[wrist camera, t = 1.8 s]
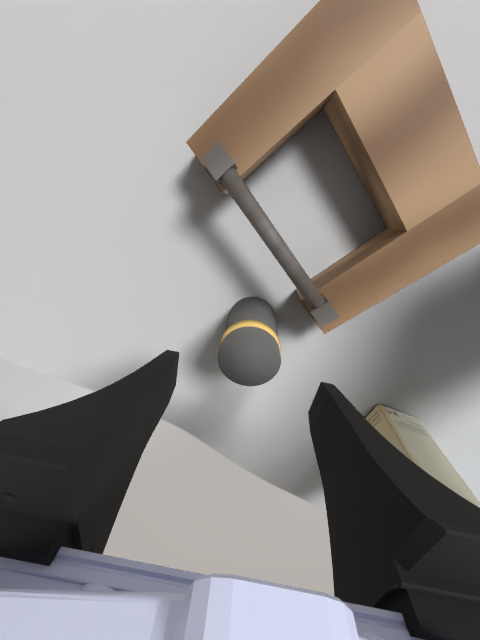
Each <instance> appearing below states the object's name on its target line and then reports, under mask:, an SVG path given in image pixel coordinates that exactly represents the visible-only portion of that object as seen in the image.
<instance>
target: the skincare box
mask: <svg viewBox="0 0 480 640" xmlns="http://www.w3.org/2000/svg"><path fill="white" fill-rule="evenodd" d="M365 419H366V420H367V421H368V422H369V423H370V424H371V425H372V426H373V427H374V428H375V429H376V430H377V431H378V432H379V433H380V434H381V435H382V436H383V437H384V438H386V439H387V440H388V441H389V442H390V443H391V444H392V445H393V446H395V447H396V448H397V449H398V450H399V451H400V452H402V453H403V454H404V455H405V456H406V457H408V458H409V459H410V460H411V461H413V462H414V463H415V464H417V465H418V466H419V467H420V468H422V469H423V470H424V471H426V472H427V473H428V474H430V475H431V476H432V477H434V478H435V479H437V480H438V481H439V482H441V483H442V484H444V485H445V486H447V487H448V488H450V489H451V490H453V491H454V492H456V493H457V494H459V495H460V496H462V497H463V498H465V499H466V500H468V501H470V502H471V503H473V504H474V505H476V506H478V507H479V508H480V503H479V501H478V500H477V499H476V497H475V496H474V494H473V493H472V492H471V490H470V489H469V488H468V486H467V485H466V484H465V482H464V481H463V479H462V478H461V477H460V475H459V474H458V473H457V471H456V470H455V469H454V467H453V466H452V465H451V463H450V462H449V460H448V459H447V458H446V456H445V455H444V454H443V452H442V451H441V449H440V448H439V447H438V445H437V444H436V443H435V441H434V440H433V438H432V437H431V436H430V434H429V433H428V432H427V430H426V429H425V428H424V426H423V425H422V423H421V422H420V421H419V420H418V419H417V418H414V417H412V416H409V415H407V414H404V413H402V412H399V411H396V410H394V409H391V408H388V407H385V406H382V405H377V406H376V407H375V408H374V409H373V410H372V412H371V413H370V414H369V415H368V416H367V417H366V418H365Z"/></svg>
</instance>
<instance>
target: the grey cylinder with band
mask: <svg viewBox="0 0 480 640" xmlns="http://www.w3.org/2000/svg"><path fill="white" fill-rule="evenodd" d="M218 363H219V367H220V369H221V371H222V372H223V374H224V375H225V376H226V377H227V378H228V379H230V380H231V381H233V382H235V383H237V384H240V385H245V386H257V385H261V384H264V383H266V382H268V381H269V380H271V379H272V378H273V377H274V376H275V375H276V374H277V372H278V370H279V368H280V364H281V350H280V343H279V339H278V333H277V326H276V318H275V313H274V310H273V308H272V306H271V305H270V304H269V303H268V302H267V301H265V300H263V299H261V298H258V297H247V298H244V299H241V300H240V301H238V302H237V303H236V304H235V305H234V306H233V308H232V310H231V313H230V316H229V319H228V323H227V326H226V330H225V333H224V335H223V337H222V340H221V344H220V348H219V354H218Z"/></svg>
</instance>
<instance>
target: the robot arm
mask: <svg viewBox="0 0 480 640" xmlns="http://www.w3.org/2000/svg"><path fill="white" fill-rule="evenodd" d="M178 360H179V352H175V351H170V350H166V351H165V352H163V353H162V354H160V355H159V356H157V357H156V358H155V359H153V360H152V361H150V362H149V363H147V364H146V365H144V366H142V367H141V368H139V369H138V370H136V371H135V372H133V373H131V374H130V375H128V376H126V377H124V378H123V379H121V380H119V381H117V382H115V383H113V384H111V385H109V386H107V387H105V388H103V389H101V390H98V391H96V392H93V393H91V394H88V395H86V396H83V397H81V398H78V399H76V400H73V401H70V402H67V403H64V404H61V405H58V406H55V407H51V408H48V409H45V410H41V411H38V412H34V413H30V414H26V415H22V416H18V417H14V418H10V419H5V420H2V421H0V640H480V508H479V507H478V506H476V505H474V504H473V503H471V502H470V501H468V500H466V499H465V498H463V497H462V496H460V495H459V494H457V493H456V492H454V491H453V490H451V489H450V488H448V487H447V486H445V485H444V484H442V483H441V482H439V481H438V480H437V479H435V478H434V477H432V476H431V475H430V474H428V473H427V472H426V471H424V470H423V469H422V468H420V467H419V466H418V465H417V464H415V463H414V462H413V461H411V460H410V459H409V458H408V457H406V456H405V455H404V454H403V453H402V452H400V451H399V450H398V449H397V448H396V447H395V446H393V445H392V444H391V443H390V442H389V441H388V440H387V439H386V438H384V437H383V436H382V435H381V434H380V433H379V432H378V431H377V430H376V429H375V428H374V427H373V426H372V425H371V424H370V423H369V422H368V421H367V420H366V419H365V418H364V417H363V416H362V415H361V414H360V413H359V412H358V411H357V409H356V408H355V407H354V406H353V405H352V404H351V403H350V402H349V401H348V400H347V399H346V397H345V396H344V395H343V394H342V393H341V392H340V391H339V390H338V389H337V388H336V387H335V386H334V385H333V384H329V383H324V382H321V383H320V386H319V388H318V391H317V393H316V395H315V398H314V400H313V403H312V405H311V407H310V410H309V412H308V413H309V424H310V432H311V437H312V441H313V446H314V450H315V454H316V458H317V462H318V466H319V470H320V474H321V479H322V484H323V489H324V496H325V503H326V510H327V517H328V527H329V535H330V545H331V556H332V565H333V579H334V595H335V597H334V596H331V595H328V594H326V593H323V592H318V591H313V590H308V589H303V588H297V587H292V586H287V585H282V584H277V583H272V582H267V581H261V580H257V579H251V578H247V577H241V576H236V575H228V574H210V575H204V574H199V573H194V572H189V571H184V570H179V569H174V568H169V567H163V566H158V565H153V564H148V563H143V562H138V561H133V560H127V559H123V558H117V557H112V556H107V555H102V554H103V551H104V548H105V546H106V543H107V541H108V538H109V535H110V533H111V530H112V527H113V525H114V522H115V519H116V517H117V514H118V512H119V509H120V507H121V504H122V501H123V499H124V496H125V494H126V491H127V489H128V486H129V484H130V482H131V479H132V477H133V474H134V472H135V469H136V467H137V465H138V462H139V460H140V458H141V455H142V453H143V451H144V449H145V447H146V444H147V443H148V441H149V439H150V437H151V435H152V433H153V431H154V429H155V427H156V426H157V424H158V422H159V420H160V418H161V417H162V415H163V413H164V411H165V409H166V407H167V405H168V403H169V401H170V399H171V396H172V394H173V391H174V388H175V386H176V378H177V369H178Z"/></svg>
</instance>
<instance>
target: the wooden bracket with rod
mask: <svg viewBox="0 0 480 640" xmlns="http://www.w3.org/2000/svg"><path fill="white" fill-rule="evenodd" d="M322 109H324V111H325V113H326V115H327V117H328V118H329V120H330V122H331V124H332V126H333V128H334V130H335V132H336V133H337V135H338V137H339V139H340V141H341V143H342V145H343V147H344V148H345V150H346V152H347V154H348V156H349V158H350V160H351V162H352V164H353V165H354V167H355V169H356V171H357V173H358V175H359V177H360V179H361V180H362V182H363V184H364V186H365V188H366V190H367V192H368V194H369V195H370V197H371V199H372V201H373V203H374V205H375V207H376V209H377V210H378V212H379V214H380V216H381V218H382V220H383V222H384V224H385V225H386V227H387V228H386V229H385V230H383V231H382V232H380V233H379V234H377V235H376V236H374V237H373V238H371V239H370V240H368V241H367V242H365V243H364V244H362V245H361V246H360V247H358V248H357V249H355V250H354V251H352V252H351V253H349V254H348V255H346V256H345V257H343V258H342V259H340V260H339V261H337V262H336V263H334V264H333V265H331V266H330V267H328V268H327V269H325V270H324V271H322V272H321V273H319V274H318V275H316V276H315V277H313V278H312V279H310V278H309V277H308V275H307V274H306V272H305V271H304V270H303V268H302V267H301V265H300V264H299V262H298V261H297V259H296V258H295V256H294V255H293V253H292V252H291V251H290V249H289V248H288V246H287V245H286V243H285V242H284V240H283V239H282V237H281V236H280V234H279V233H278V231H277V230H276V229H275V227H274V226H273V224H272V223H271V221H270V220H269V218H268V217H267V215H266V214H265V212H264V211H263V210H262V208H261V207H260V205H259V204H258V202H257V201H256V199H255V198H254V196H253V195H252V193H251V192H250V190H249V189H248V188H247V186H246V185H245V183H244V182H243V181H244V180H245V179H246V178H247V177H248V176H249V175H250V174H251V173H253V172H254V171H255V170H256V169H257V168H258V167H259V166H260V165H261V164H263V163H264V162H265V161H266V160H267V159H268V158H269V157H270V156H271V155H273V154H274V153H275V152H276V151H277V150H278V149H279V148H280V147H281V146H283V145H284V144H285V143H286V142H287V141H288V140H289V139H290V138H291V137H293V136H294V135H295V134H296V133H297V132H298V131H299V130H300V129H301V128H302V127H304V126H305V125H306V124H307V123H308V122H309V121H310V120H311V119H312V118H314V117H315V116H316V115H317V114H318V113H319V112H320V111H321V110H322ZM186 143H187V144H188V145H189V147H190V148H191V150H192V151H193V152H194V154H195V155H196V157H197V158H198V159H199V161H200V162H201V164H202V165H203V166H204V168H205V169H206V170H207V172H208V173H209V175H210V176H211V177H212V179H213V180H214V182H215V183H216V184H217V186H218V187H219V189H220V190H221V191H222V193H225V194H227V195H228V194H229V193H230V195H231V196H232V198H233V199H234V200H235V202H236V203H237V205H238V206H239V207H240V209H241V210H242V212H243V213H244V214H245V216H246V217H247V219H248V220H249V221H250V223H251V224H252V226H253V227H254V228H255V230H256V231H257V233H258V234H259V235H260V237H261V238H262V240H263V241H264V243H265V244H266V245H267V247H268V248H269V250H270V251H271V252H272V254H273V255H274V257H275V258H276V259H277V261H278V262H279V264H280V265H281V266H282V268H283V269H284V271H285V272H286V273H287V275H288V276H289V278H290V279H291V280H292V282H293V283H294V285H295V286H296V287H297V289H296V292H297V294H298V296H299V299H300V301H301V302H302V304H303V305H304V307H305V308H306V309H307V311H308V312H309V314H310V315H311V316H312V318H313V319H314V321H315V322H316V323H317V325H318V326H319V327H320V329H321V330H322V332H323V333H324V334H326V333H327V332H329V331H331V330H333V329H334V328H336V327H338V326H339V325H341V324H343V323H345V322H346V321H348V320H350V319H351V318H353V317H355V316H357V315H358V314H360V313H362V312H363V311H365V310H367V309H369V308H370V307H372V306H374V305H375V304H377V303H379V302H381V301H382V300H384V299H386V298H387V297H389V296H391V295H393V294H394V293H396V292H398V291H399V290H401V289H403V288H405V287H406V286H408V285H410V284H411V283H413V282H415V281H417V280H418V279H420V278H422V277H423V276H425V275H427V274H429V273H430V272H432V271H434V270H435V269H437V268H439V267H441V266H442V265H444V264H446V263H447V262H449V261H451V260H453V259H454V258H456V257H458V256H459V255H461V254H463V253H465V252H466V251H468V250H470V249H471V248H473V247H475V246H477V245H478V244H480V166H479V164H478V161H477V158H476V156H475V153H474V150H473V148H472V145H471V142H470V140H469V137H468V134H467V132H466V129H465V126H464V124H463V121H462V118H461V116H460V113H459V110H458V108H457V105H456V102H455V100H454V97H453V94H452V92H451V89H450V87H449V84H448V81H447V79H446V76H445V73H444V71H443V68H442V65H441V63H440V60H439V57H438V55H437V52H436V49H435V47H434V44H433V41H432V39H431V36H430V33H429V31H428V28H427V25H426V23H425V20H424V17H423V15H422V12H421V10H420V7H419V4H418V2H417V0H320V1H319V2H318V3H317V4H316V5H315V6H314V7H313V9H312V10H311V11H310V12H309V13H308V14H307V15H306V16H305V17H304V18H303V19H302V20H301V21H300V22H299V23H298V24H297V25H296V27H295V28H294V29H293V30H292V31H291V32H290V33H289V34H288V35H287V36H286V37H285V38H284V39H283V40H282V41H281V42H280V43H279V44H278V46H277V47H276V48H275V49H274V50H273V51H272V52H271V53H270V54H269V55H268V56H267V57H266V58H265V59H264V60H263V61H262V62H261V64H260V65H259V66H258V67H257V68H256V69H255V70H254V71H253V72H252V73H251V74H250V75H249V76H248V77H247V78H246V79H245V80H244V82H243V83H242V84H241V85H240V86H239V87H238V88H237V89H236V90H235V91H234V92H233V93H232V94H231V95H230V96H229V97H228V98H227V100H226V101H225V102H224V103H223V104H222V105H221V106H220V107H219V108H218V109H217V110H216V111H215V112H214V113H213V114H212V115H211V116H210V117H209V119H208V120H207V121H206V122H205V123H204V124H203V125H202V126H201V127H200V128H199V129H198V130H197V131H196V132H195V133H194V134H193V135H192V137H191V138H190V139H189V140H188V141H187V142H186Z"/></svg>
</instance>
